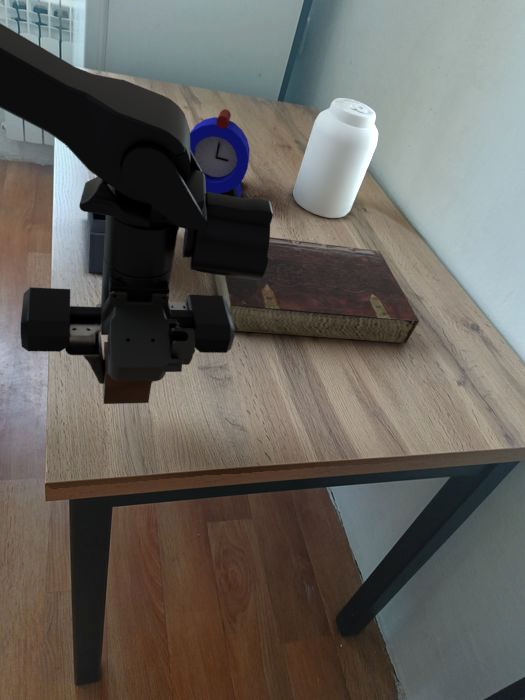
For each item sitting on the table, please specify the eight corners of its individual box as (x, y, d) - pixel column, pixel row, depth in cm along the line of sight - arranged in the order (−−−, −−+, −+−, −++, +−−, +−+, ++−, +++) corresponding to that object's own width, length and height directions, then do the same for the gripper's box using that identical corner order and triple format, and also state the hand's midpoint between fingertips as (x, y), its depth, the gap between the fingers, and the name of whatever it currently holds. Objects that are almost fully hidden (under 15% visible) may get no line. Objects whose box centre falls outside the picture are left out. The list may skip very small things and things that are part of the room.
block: (103, 404, 54) (105, 374, 51) (102, 371, 57) (103, 341, 54) (148, 403, 56) (153, 374, 53) (144, 371, 59) (149, 341, 56)
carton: (165, 276, 81) (171, 236, 76) (88, 272, 77) (89, 229, 73) (156, 228, 90) (161, 189, 85) (87, 222, 86) (88, 181, 81)
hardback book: (369, 271, 97) (380, 248, 93) (405, 344, 84) (419, 321, 80) (210, 253, 88) (216, 227, 85) (223, 331, 76) (230, 304, 72)
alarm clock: (173, 192, 99) (185, 111, 89) (184, 164, 108) (196, 87, 98) (238, 208, 101) (257, 130, 91) (243, 179, 110) (261, 105, 100)
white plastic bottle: (346, 195, 117) (383, 102, 103) (352, 225, 107) (392, 127, 94) (291, 181, 115) (320, 85, 101) (291, 211, 106) (324, 108, 92)
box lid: (170, 236, 76) (170, 238, 76) (90, 229, 73) (90, 231, 73) (179, 226, 70) (179, 229, 70) (92, 219, 67) (92, 221, 67)
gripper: (9, 318, 37) (21, 450, 47) (265, 325, 43) (226, 440, 54) (20, 227, 44) (29, 358, 55) (237, 244, 51) (208, 359, 61)
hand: (125, 380), depth 56 cm, fingers closed on block, 4 cm apart
